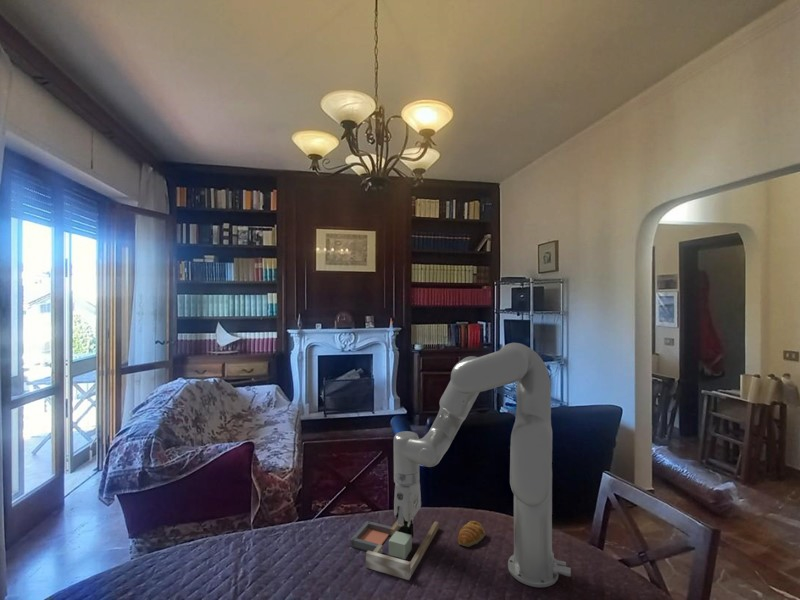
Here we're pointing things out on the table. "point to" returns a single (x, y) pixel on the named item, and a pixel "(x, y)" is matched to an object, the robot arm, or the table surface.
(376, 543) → the tray
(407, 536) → the block
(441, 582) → the table surface
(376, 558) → the wooden channel walls
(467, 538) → the pastry
